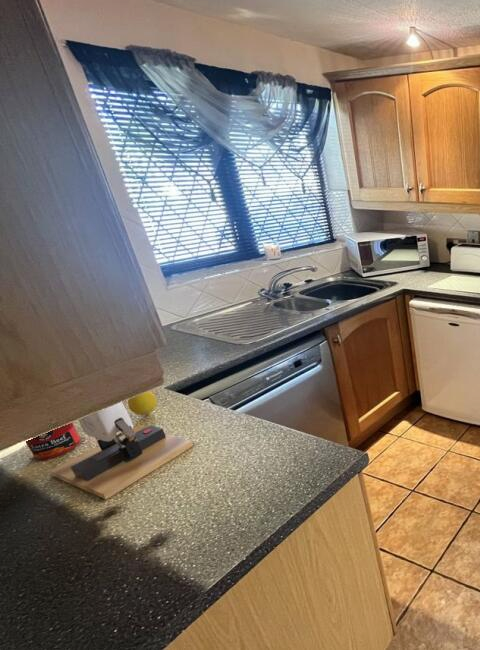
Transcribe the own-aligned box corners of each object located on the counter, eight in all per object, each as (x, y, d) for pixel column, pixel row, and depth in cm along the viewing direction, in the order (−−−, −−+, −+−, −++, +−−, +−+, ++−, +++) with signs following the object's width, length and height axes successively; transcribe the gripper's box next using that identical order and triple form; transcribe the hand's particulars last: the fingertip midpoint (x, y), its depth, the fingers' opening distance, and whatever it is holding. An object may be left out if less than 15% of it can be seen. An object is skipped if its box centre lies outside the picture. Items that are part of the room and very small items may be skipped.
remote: (87, 481, 82) (82, 471, 81) (75, 476, 84) (69, 466, 83) (166, 437, 95) (162, 427, 94) (154, 433, 97) (150, 424, 96)
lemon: (161, 406, 110) (151, 382, 107) (160, 415, 106) (150, 390, 103) (135, 414, 107) (124, 389, 104) (133, 423, 103) (122, 398, 100)
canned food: (30, 465, 89) (7, 426, 85) (39, 447, 95) (18, 410, 91) (78, 450, 94) (58, 412, 90) (83, 433, 99) (65, 398, 95)
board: (52, 475, 86) (49, 470, 85) (142, 429, 101) (140, 424, 100) (106, 499, 79) (103, 494, 79) (193, 445, 94) (191, 441, 94)
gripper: (45, 391, 83) (80, 456, 89) (93, 406, 77) (126, 474, 83) (90, 374, 89) (120, 435, 95) (137, 387, 84) (165, 451, 90)
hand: (123, 453), depth 89 cm, fingers open, 7 cm apart
